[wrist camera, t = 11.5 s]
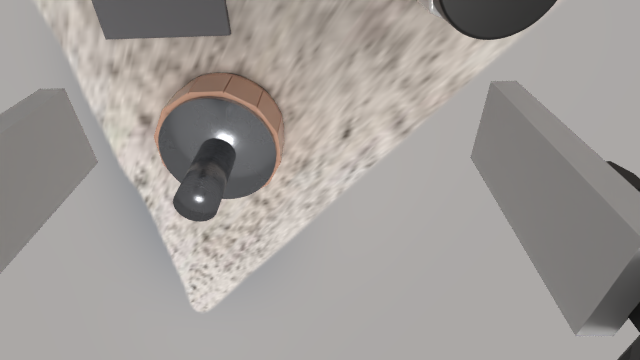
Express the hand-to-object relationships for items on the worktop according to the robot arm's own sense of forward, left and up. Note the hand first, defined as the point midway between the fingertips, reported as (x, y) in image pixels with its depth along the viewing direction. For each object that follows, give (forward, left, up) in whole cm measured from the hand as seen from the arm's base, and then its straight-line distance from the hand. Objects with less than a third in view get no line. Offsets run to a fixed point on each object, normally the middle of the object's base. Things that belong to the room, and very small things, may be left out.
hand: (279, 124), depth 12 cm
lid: (+14, -10, -21) cm, 27 cm away
